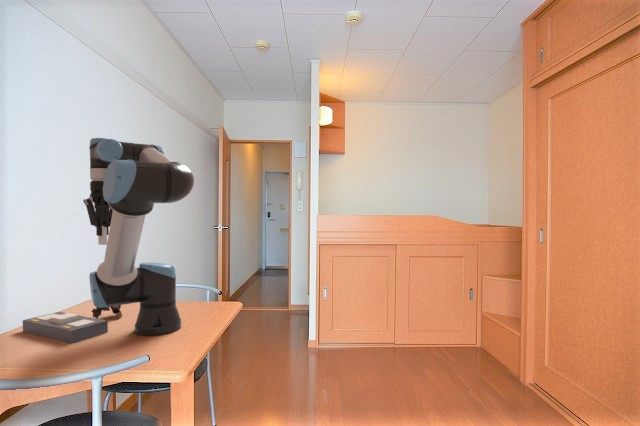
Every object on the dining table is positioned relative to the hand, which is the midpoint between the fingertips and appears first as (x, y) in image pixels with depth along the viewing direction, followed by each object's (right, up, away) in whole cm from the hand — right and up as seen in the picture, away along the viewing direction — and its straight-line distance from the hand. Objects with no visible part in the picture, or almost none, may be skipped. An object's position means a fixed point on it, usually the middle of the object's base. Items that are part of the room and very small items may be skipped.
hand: (102, 244), depth 141 cm
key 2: (0, -28, -13) cm, 31 cm away
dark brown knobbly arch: (-2, -30, +8) cm, 31 cm away
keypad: (-8, -30, -9) cm, 32 cm away
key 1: (-16, -29, -5) cm, 33 cm away
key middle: (-8, -27, -9) cm, 30 cm away
